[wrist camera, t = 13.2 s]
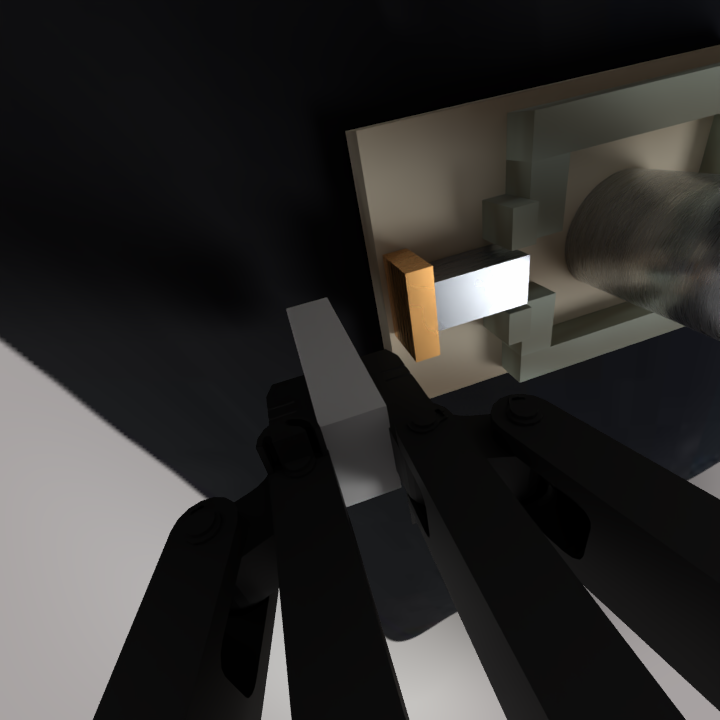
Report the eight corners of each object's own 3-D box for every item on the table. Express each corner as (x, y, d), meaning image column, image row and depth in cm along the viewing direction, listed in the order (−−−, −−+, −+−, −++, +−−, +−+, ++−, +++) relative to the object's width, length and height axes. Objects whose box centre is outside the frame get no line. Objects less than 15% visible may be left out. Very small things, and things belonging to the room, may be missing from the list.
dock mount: (345, 130, 14) (374, 129, 11) (725, 43, 16) (834, 22, 13) (391, 391, 20) (417, 434, 17) (655, 304, 22) (718, 329, 19)
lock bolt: (382, 255, 15) (404, 273, 13) (499, 222, 15) (538, 235, 13) (394, 335, 17) (416, 362, 15) (498, 303, 17) (532, 325, 15)
